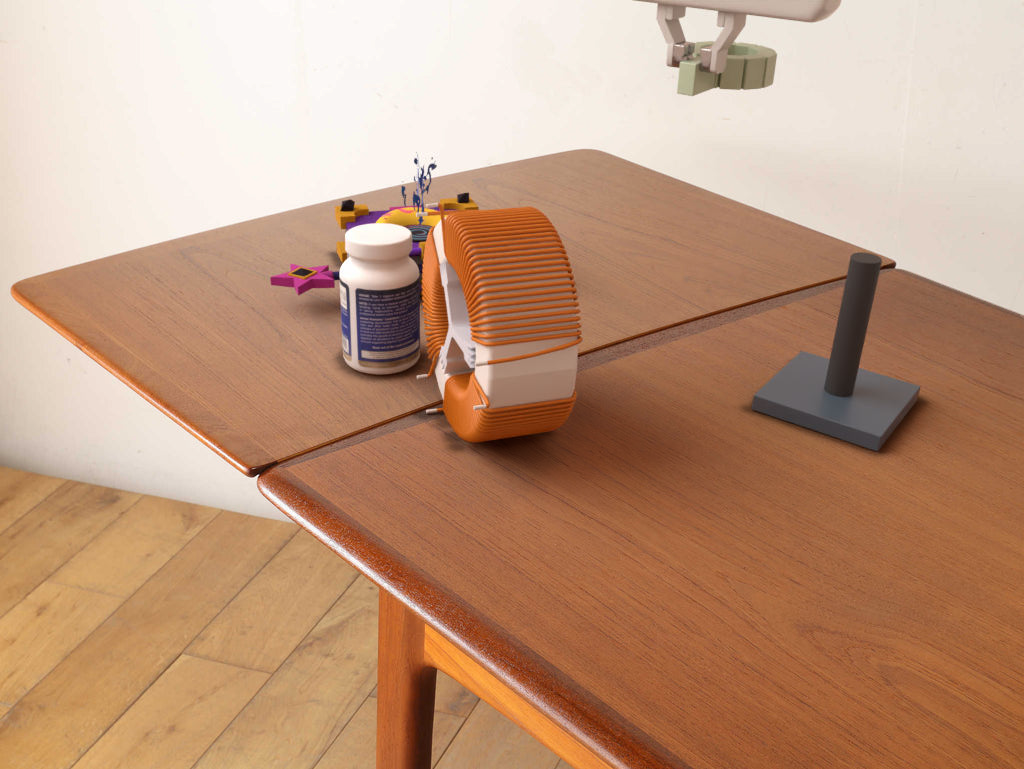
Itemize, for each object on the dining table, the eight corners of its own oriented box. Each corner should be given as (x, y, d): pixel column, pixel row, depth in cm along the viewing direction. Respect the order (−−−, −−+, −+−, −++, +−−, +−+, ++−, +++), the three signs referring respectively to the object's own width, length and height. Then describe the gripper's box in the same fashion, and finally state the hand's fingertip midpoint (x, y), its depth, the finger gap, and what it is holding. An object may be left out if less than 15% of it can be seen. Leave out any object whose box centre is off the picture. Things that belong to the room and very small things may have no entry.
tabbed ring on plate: (786, 79, 87) (790, 49, 86) (728, 102, 79) (732, 70, 78) (705, 66, 91) (708, 37, 90) (642, 87, 83) (645, 56, 82)
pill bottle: (435, 355, 79) (435, 230, 75) (388, 385, 75) (385, 253, 70) (375, 336, 82) (372, 213, 77) (326, 363, 78) (320, 235, 73)
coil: (500, 370, 78) (507, 174, 70) (578, 478, 65) (597, 253, 58) (409, 382, 75) (407, 180, 68) (472, 496, 63) (478, 265, 56)
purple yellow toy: (571, 294, 91) (581, 154, 85) (276, 322, 83) (265, 171, 78) (517, 236, 103) (523, 110, 97) (256, 256, 95) (245, 121, 90)
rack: (917, 400, 76) (954, 255, 71) (877, 452, 69) (914, 296, 64) (798, 364, 80) (825, 224, 75) (750, 409, 74) (776, 260, 68)
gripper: (875, -124, 72) (840, 82, 78) (615, -137, 82) (604, 46, 88) (843, -122, 67) (808, 97, 74) (572, -136, 77) (563, 57, 84)
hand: (695, 69), depth 81 cm, fingers closed on tabbed ring on plate, 1 cm apart
